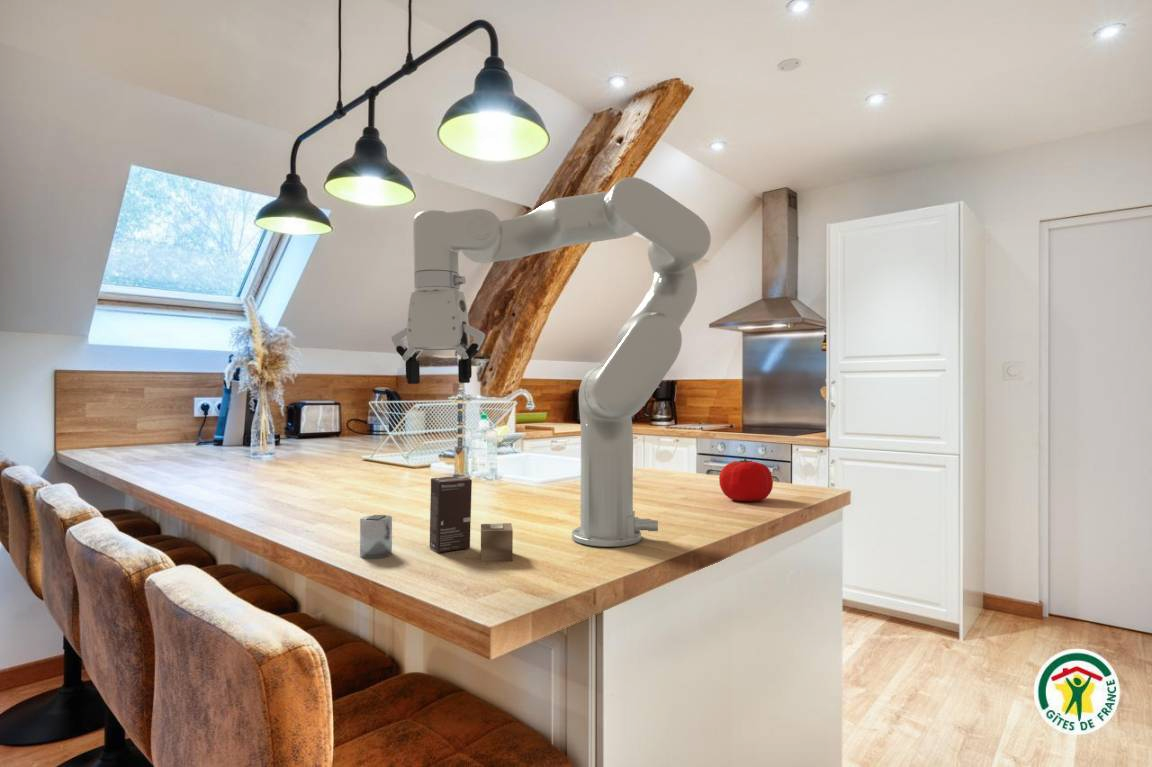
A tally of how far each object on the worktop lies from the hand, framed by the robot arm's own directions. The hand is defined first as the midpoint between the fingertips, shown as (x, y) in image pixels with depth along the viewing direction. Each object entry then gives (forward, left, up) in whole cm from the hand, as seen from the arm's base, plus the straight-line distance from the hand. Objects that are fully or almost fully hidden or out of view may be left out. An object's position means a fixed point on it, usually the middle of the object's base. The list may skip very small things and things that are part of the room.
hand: (438, 383), depth 107 cm
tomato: (-60, -49, -28) cm, 83 cm away
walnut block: (-12, +6, -28) cm, 31 cm away
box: (-3, +2, -28) cm, 29 cm away
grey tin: (+8, +7, -28) cm, 30 cm away
